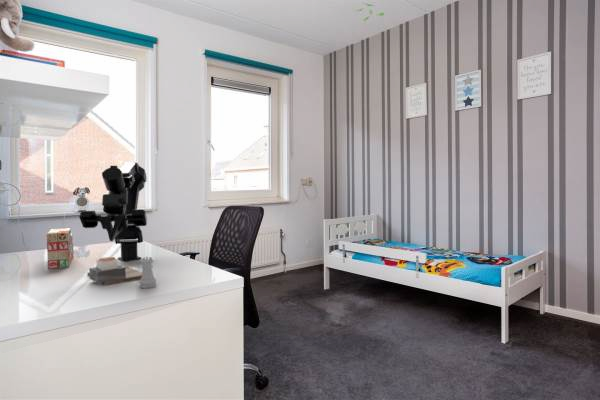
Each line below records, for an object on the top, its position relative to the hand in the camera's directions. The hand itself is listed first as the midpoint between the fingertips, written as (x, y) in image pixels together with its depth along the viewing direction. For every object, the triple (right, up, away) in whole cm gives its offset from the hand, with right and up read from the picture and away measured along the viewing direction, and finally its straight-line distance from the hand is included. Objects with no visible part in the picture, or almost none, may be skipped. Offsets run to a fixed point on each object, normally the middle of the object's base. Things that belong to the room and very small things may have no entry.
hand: (111, 240), depth 116 cm
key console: (+1, -11, 0) cm, 11 cm away
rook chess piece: (+15, -12, -10) cm, 22 cm away
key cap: (+2, -9, -5) cm, 11 cm away
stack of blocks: (-29, -11, +23) cm, 38 cm away
